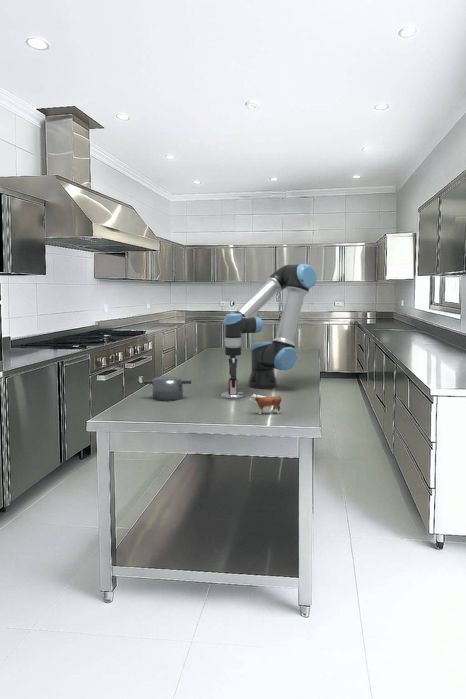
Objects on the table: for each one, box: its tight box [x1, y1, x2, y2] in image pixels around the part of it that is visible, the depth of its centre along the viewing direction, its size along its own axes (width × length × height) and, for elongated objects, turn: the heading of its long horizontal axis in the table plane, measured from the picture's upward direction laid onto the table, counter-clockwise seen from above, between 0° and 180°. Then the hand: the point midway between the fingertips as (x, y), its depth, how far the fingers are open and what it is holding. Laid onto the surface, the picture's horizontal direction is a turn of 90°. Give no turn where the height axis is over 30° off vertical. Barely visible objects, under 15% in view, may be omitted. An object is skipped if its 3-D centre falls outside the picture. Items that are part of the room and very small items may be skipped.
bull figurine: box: [248, 393, 282, 416], centre depth 228 cm, size 4×13×8 cm, turn 95°
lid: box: [220, 379, 246, 400], centre depth 261 cm, size 11×11×8 cm
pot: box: [142, 375, 192, 402], centre depth 257 cm, size 22×14×9 cm, turn 92°
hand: (232, 391), depth 261 cm, fingers open, 13 cm apart
